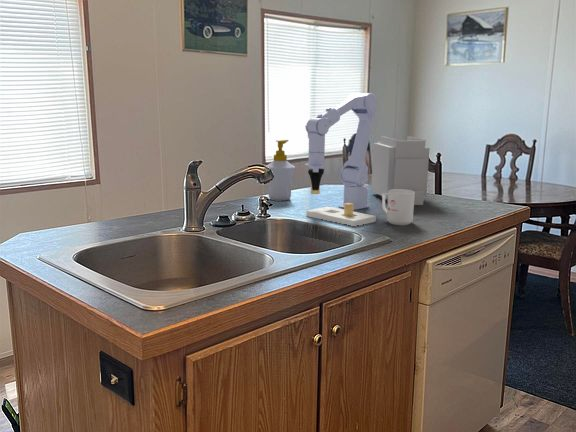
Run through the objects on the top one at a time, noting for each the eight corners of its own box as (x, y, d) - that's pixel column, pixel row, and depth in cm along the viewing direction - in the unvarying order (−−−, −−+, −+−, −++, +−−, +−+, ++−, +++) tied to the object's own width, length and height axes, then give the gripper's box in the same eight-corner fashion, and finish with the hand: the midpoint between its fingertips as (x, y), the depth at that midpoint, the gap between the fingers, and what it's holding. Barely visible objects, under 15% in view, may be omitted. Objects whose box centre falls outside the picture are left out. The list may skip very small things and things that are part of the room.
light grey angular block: (390, 205, 222) (393, 140, 217) (370, 193, 248) (373, 135, 243) (430, 204, 225) (435, 140, 220) (406, 193, 251) (410, 135, 245)
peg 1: (319, 192, 203) (320, 176, 202) (319, 194, 200) (319, 177, 198) (311, 192, 203) (311, 176, 202) (310, 194, 200) (310, 177, 199)
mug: (417, 223, 192) (419, 191, 189) (403, 227, 186) (405, 194, 183) (389, 217, 200) (390, 187, 198) (374, 221, 194) (375, 189, 192)
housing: (328, 211, 208) (328, 206, 208) (375, 221, 193) (375, 216, 192) (306, 216, 200) (306, 210, 200) (353, 226, 185) (354, 221, 184)
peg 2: (354, 220, 194) (355, 203, 193) (349, 222, 192) (349, 205, 190) (347, 219, 196) (348, 202, 195) (341, 220, 194) (342, 203, 192)
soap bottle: (300, 198, 233) (301, 140, 228) (284, 203, 223) (285, 142, 217) (275, 195, 240) (276, 138, 235) (258, 200, 229) (258, 140, 224)
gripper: (306, 149, 206) (305, 185, 208) (304, 153, 191) (303, 192, 194) (325, 150, 205) (324, 186, 208) (324, 154, 191) (323, 192, 194)
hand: (315, 189), depth 201 cm, fingers closed on peg 1, 3 cm apart
